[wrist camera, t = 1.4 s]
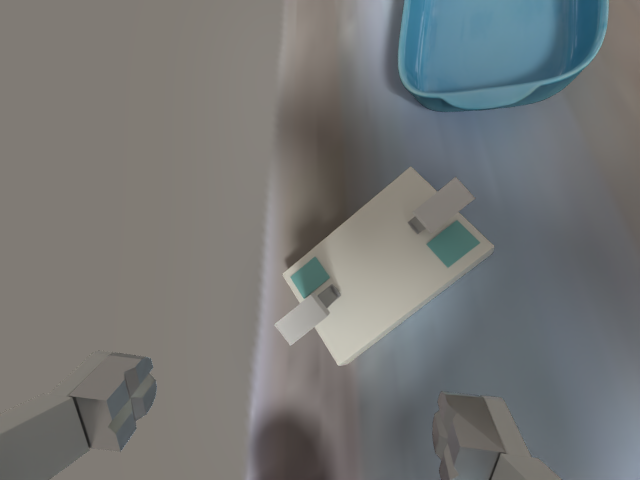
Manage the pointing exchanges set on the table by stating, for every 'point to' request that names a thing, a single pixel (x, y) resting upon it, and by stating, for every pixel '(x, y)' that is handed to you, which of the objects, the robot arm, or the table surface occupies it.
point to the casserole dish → (495, 50)
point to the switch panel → (384, 266)
